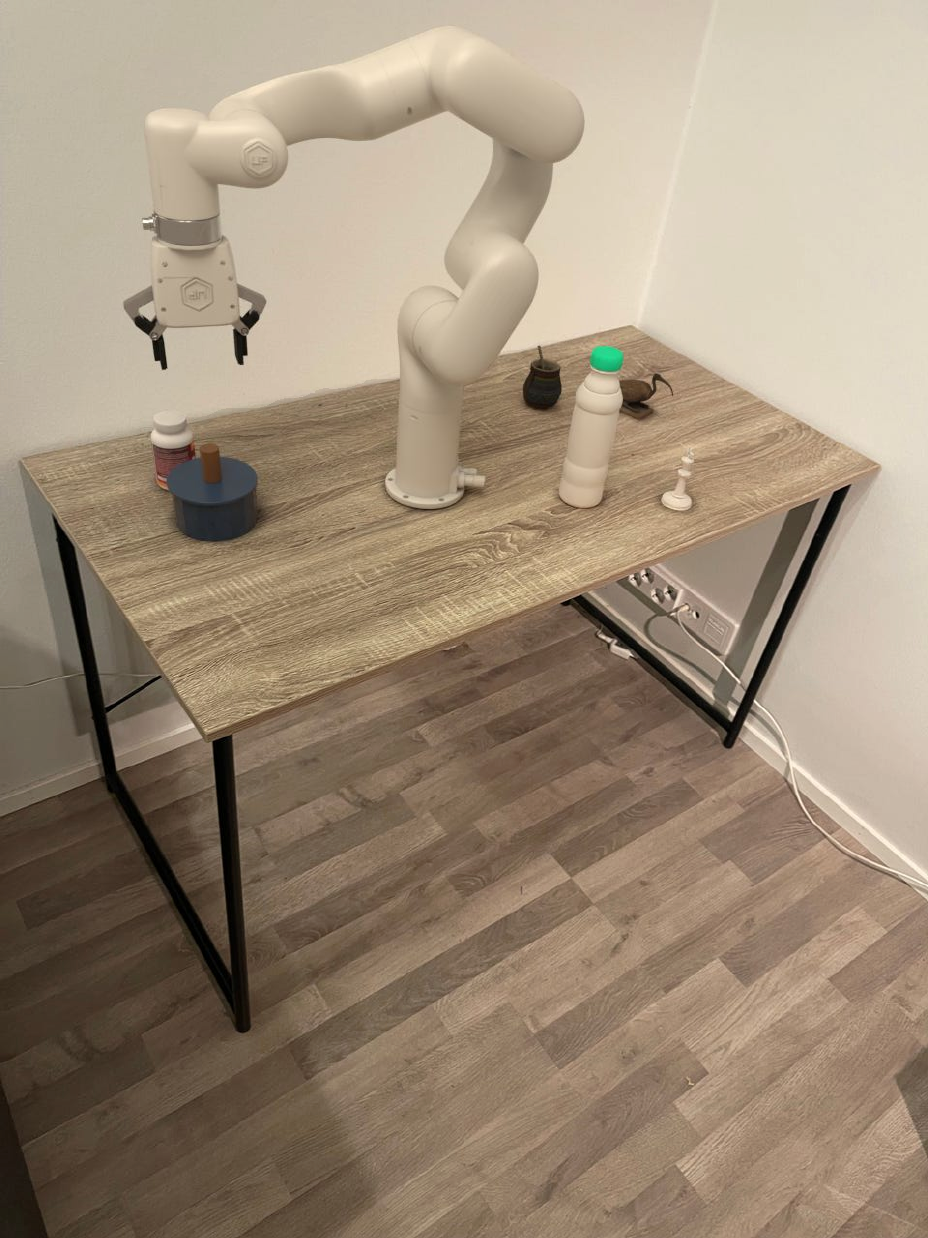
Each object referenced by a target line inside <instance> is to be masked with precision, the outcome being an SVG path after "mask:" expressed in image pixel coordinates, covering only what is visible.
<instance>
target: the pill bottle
mask: <svg viewBox="0 0 928 1238" xmlns="http://www.w3.org/2000/svg"><path fill="white" fill-rule="evenodd" d="M152 419H153V420H152V421H153V427H154V428H153V429H152V431H151V432H150V444H151V445H150V446H151V451H152V458H153V467H154V473H155V480H156V483H157V485H158V487H160V488H161V489H163V490H164V491H165V490H166V491H168V492H170V491H169V490H168V488H167V482H166V481H167V477H168V474H169V473H170V472H171V471H172V470H173V469H174V468H175V467H176V466H178V465H180V464H182V463H184V462H186V461H189V460H192V459H196V458H197V457H196V448H195V447H196V445H195V438H194V437H195V436H194V433H193V431H192V429H191V428H190V427H188V421H187V416H186V414H185V413H184V412H182V411H179V410H171V409H170V410H162V411H159V412H157V413H155V414H154V416H153V417H152Z"/></svg>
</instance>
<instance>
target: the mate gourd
mask: <svg viewBox="0 0 928 1238" xmlns="http://www.w3.org/2000/svg"><path fill="white" fill-rule="evenodd" d="M537 349H538V355H539V358H537V359H534V360H532V361H531V362H530V366H529V372H528V375H527V376H526V378H525V380H524V382H523V385H522V397H523V401H524V402H525V404H526V405H527V406H528V407H529V408H532V409H533V410H538V411H546V410H550V409H551V408H553V407H555V405H557V403H558V402H559V401H558V400H559V399H560V397H561V395H562V392H563V387H562V380H561V376H560V374H561V369H562V367H561V365H560V363H558V362H557V361H555V360H552V359H546V358H544V356H543V350H542V347H541V345H537Z"/></svg>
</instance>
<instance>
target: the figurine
mask: <svg viewBox="0 0 928 1238" xmlns="http://www.w3.org/2000/svg"><path fill="white" fill-rule="evenodd" d="M656 381H657V382H658V381H659V382H661V383H663V384H665V385H666V386H667V387H668V388H669V390H670V392H671V397H674V392H673V388H672V386H671V384H670V383H669V382H668V381H667V380H666V379H665V378H664V377H662V374H660V373H657V372H655V373H654V374H653V375H652V378H651V384H652V386H651V385H650V383H648V382H647V381H644V380H639V379H622V380H619V383H620V389H621V392H622V396H623V402H622V406H621V408H620V409H619V412H622V413H624V414H626V415H628V416H631V417H633V418H635V419H637V420H643V419H645V418H647V417H649V416H651V415H653V414H654V412H655V409H654V408H652V407H651V406H650V405H649V404H646V403H644V402H646V401H649V400H650V399H651V398H652V397H653V396H654V395H655V393H656V392H657V390H658V389H657V383H656Z"/></svg>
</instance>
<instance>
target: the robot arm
mask: <svg viewBox="0 0 928 1238" xmlns="http://www.w3.org/2000/svg"><path fill="white" fill-rule="evenodd" d="M446 112H449V113H450V114H452V115H453V116H455V117H456V118H458V119H460V120H461V121H464V122H465V123H467V124H468V125H470V126H472V127H473V128H475V129H476V130H478V131H479V132H482V133H483V134H485V135H486V136H488V137H489V138H491V139H492V158H491V163H490V167H489V170H488V173H487V175H486V177H485V180H484V181H483V184H482V186H481V187H480V190H479V192H478V193H477V195H476V196H475V198H474V200H473V202H472V203H471V205H470V206H469V208H468V210H467V211H466V214H465V215H464V216H463V218H462V220H461V222H460V223H459V225H458V227H457V228H456V230H455V231H454V233H453V234H452V236H451V238H450V240H449V242H448V244H447V246H446V249H445V251H444V257H443V261H444V267H445V270H446V272H447V274H448V275H449V277H450V278H451V280H452V281H453V282H454V283H455V285H457V286H458V288H460V290H462V292H461V294H460V295H459V297H458V296H457V295H455V294H454V293H453V292H451V291H450V290H449V289H446V288H444V287H441V286H438V285H425V286H421V287H419V288H416V289H414V290H413V291H412V292H411V293H410V294H409V295H408V296H407V297H406V298H405V299H404V301H403V303H402V305H401V307H400V309H399V312H398V317H397V325H396V326H397V329H396V330H397V331H396V333H397V344H398V355H399V357H398V358H399V391H398V393H399V394H398V410H397V429H396V430H397V431H396V432H397V433H396V451H395V452H396V453H395V455H396V456H395V467H394V468H393V469H391V470H390V471H389V472H388V473H387V475H386V477H385V481H384V487H385V490H386V493H387V494H388V495H389V496H390V497H391V498H392V499H393V500H394V501H396V502H397V503H399V504H401V505H404V506H406V507H410V508H415V509H422V510H435V509H442V508H446V507H449V506H452V505H454V504H455V503H457V502H459V501H460V500H461V499H462V497H464V493H465V487H472V488H481V489H484V488H485V482H486V481H485V480H486V476H485V475H483V474H482V475H481V474H478V468H476V467H475V468H474V467H469V468H468V467H463V465H460V457H458V456H459V446H460V437H461V427H462V426H461V423H462V415H463V414H462V413H463V405H464V397H465V396H464V395H465V386H468V385H471V384H473V383H475V382H476V381H477V380H479V379H480V378H481V377H482V376H484V375H485V373H486V372H487V371H488V370H489V369H490V368H491V366H493V364H494V362H495V361H496V359H497V358H498V356H499V355H500V354H501V352H502V350H503V349H504V348H505V346H506V344H507V343H508V341H509V340H510V339H511V336H512V335H513V333H514V332H515V331H516V329H517V328H518V326H519V324H520V323H521V321H522V319H523V318H524V316H525V315H526V313H527V312H528V311H529V308H530V306H531V305H532V303H533V301H534V298H535V296H536V293H537V288H538V285H539V273H540V272H539V267H538V266H539V265H538V262H537V260H536V257H535V256H534V254H533V253H532V251H531V250H530V248H528V247H527V246H526V245H525V242H526V240H527V238H528V236H529V235H530V233H531V231H532V230H533V228H534V226H535V224H536V222H537V221H538V218H539V217H540V215H541V214H542V211H543V210H544V207H545V206H546V203H547V200H548V199H549V195H550V191H551V188H552V181H553V173H554V172H553V171H554V164H556V163H560V162H561V161H564V160H565V159H567V158H569V157H570V156H571V155H572V154H573V153H574V152H575V151H576V150H577V148H578V147H579V145H580V143H581V142H582V141H581V140H582V138H583V136H584V131H585V114H584V110H583V107H582V105H581V102H580V100H579V98H577V96H576V95H575V94H574V93H573V92H572V91H571V90H570V89H568V88H566V87H565V86H564V85H562V84H560V83H559V82H557V81H555V80H553V79H551V78H550V77H548V76H547V75H546V74H543V73H542V72H540V71H538V70H537V69H535V68H533V67H532V66H530V65H528V64H527V63H525V62H523V60H520V59H519V58H517V57H515V56H514V55H513V54H511V53H509V52H508V51H507V50H505V49H504V48H502V47H501V46H499V45H498V44H497V43H495V42H493V41H492V40H490V39H489V38H487V37H484V36H483V35H480V34H478V33H475V32H474V31H471V30H469V29H467V28H465V27H462V26H459V25H452V24H450V25H449V24H448V25H441V26H438V27H435V28H432V29H429V30H426V31H423V32H421V33H418V34H416V35H413V36H411V37H408V38H406V39H403V40H400V41H398V42H396V43H393V44H391V45H388V46H385V47H382V48H379V49H377V50H374V51H373V52H369V53H366V54H364V55H362V56H359V57H357V58H353V59H351V60H347V61H345V62H342V63H337V64H336V63H335V64H330V65H326V66H321V67H318V68H314V69H309V70H304V71H300V72H295V73H294V72H293V73H291V74H287V75H282V76H279V77H276V78H273V79H269V80H267V81H264V82H262V83H258V84H256V85H254V86H251V87H248V88H246V89H244V90H240V91H238V92H236V93H234V94H231V95H229V96H227V97H225V98H224V99H222V100H221V101H219V102H218V103H217V104H215V105H214V107H213V108H212V109H211V111H210V112H209V114H208V115H206V114H205V113H203V112H201V111H198V110H194V109H191V108H183V107H182V108H181V107H166V108H165V107H164V108H158V109H154V110H152V111H151V112H149V113H148V114H147V115H146V116H145V120H144V124H143V125H144V126H143V129H144V139H145V149H146V153H147V154H146V156H147V164H148V173H149V181H150V182H149V183H150V189H151V197H152V207H153V210H152V211H153V213H151V216H148V217H142V218H141V222H142V228H143V230H144V231H150V232H153V233H154V236H152V237H151V245H150V279H151V281H150V283H151V285H149V286H148V287H146V288H145V289H143V290H141V291H139V292H136V293H135V294H133V295H132V296H129V297H128V298H126V299H125V300H124V301H123V302H122V306H123V310H124V311H125V312H126V314H127V315H128V316H129V318H130V319H131V320H132V322H133V324H134V325H135V327H136V328H137V329H139V330H141V332H143V333H144V334H145V335H147V336H148V337H149V339H150V341H151V345H152V352H153V360H154V362H159V363H160V368H161V371H166V370H167V369H168V360H167V359H168V358H167V352H166V343H165V339H164V335H163V333H164V332H165V331H166V329H167V328H169V329H182V328H183V329H187V328H206V327H223V326H232V327H233V329H232V336H233V338H232V339H233V349H234V357H235V360H236V362H237V365H239V366H244V364H245V363H244V361H245V360H244V357H248V356H249V351H248V338H247V336H248V335H249V334H250V331H251V329H253V327H254V326H255V325H256V324H257V323H258V322H259V320H260V318H261V317H260V316H261V315H262V314H263V311H264V309H265V307H266V305H267V299H266V297H265V295H263V294H262V293H259V292H258V291H256V290H253V289H250V288H248V287H246V286H245V285H242V284H239V283H238V281H237V275H236V274H237V273H236V266H235V261H234V260H235V259H234V256H233V251H232V248H231V247H232V246H231V244H230V241H229V239H228V238H227V237H226V236H225V235H224V234H223V232H222V219H221V203H220V192H219V191H220V190H219V185H225V186H231V187H236V188H237V187H238V188H245V189H253V190H254V189H264V188H268V187H271V186H273V185H274V184H276V183H277V182H279V181H280V180H281V178H283V176H284V175H285V173H286V171H287V168H288V166H289V149H288V146H292V145H294V144H295V145H296V144H298V143H302V142H306V141H311V140H319V139H336V140H337V139H338V140H343V141H344V140H345V141H352V142H367V141H368V142H369V141H376V140H378V139H380V138H383V137H385V136H387V135H390V134H393V133H395V132H399V130H402V129H405V128H407V127H411V126H413V125H416V124H417V123H420V122H423V121H424V120H425V121H426V120H428V119H431V118H433V117H435V116H438V115H440V114H443V113H446ZM240 299H242V300H243V301H246V302H247V303H250V304H251V306H250V309H248V310H247V311H246V312H245V313H244V315H243V316H242V315H241V309H240V308H241V307H240ZM151 302H153V308H154V313H155V314H154V316H153V317H152V319H151V320H150V319H148V318H147V316H144V315H143V314H142V313H141V311H140V310H139V309H140V308H142V307H144V306H146V305H147V304H149V303H151Z"/></svg>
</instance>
